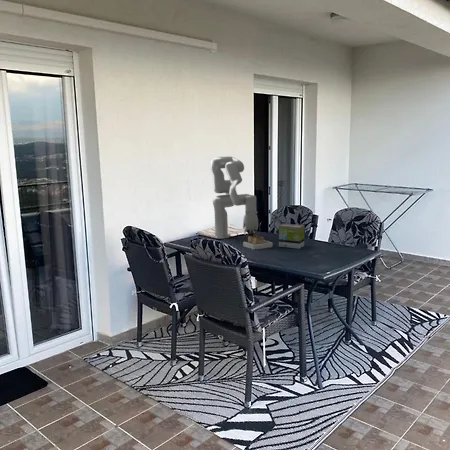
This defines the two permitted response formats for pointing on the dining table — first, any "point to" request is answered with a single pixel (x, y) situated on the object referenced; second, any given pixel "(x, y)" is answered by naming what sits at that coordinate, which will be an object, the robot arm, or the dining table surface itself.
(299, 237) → the tea box
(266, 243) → the bay
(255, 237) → the cart
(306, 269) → the dining table surface
